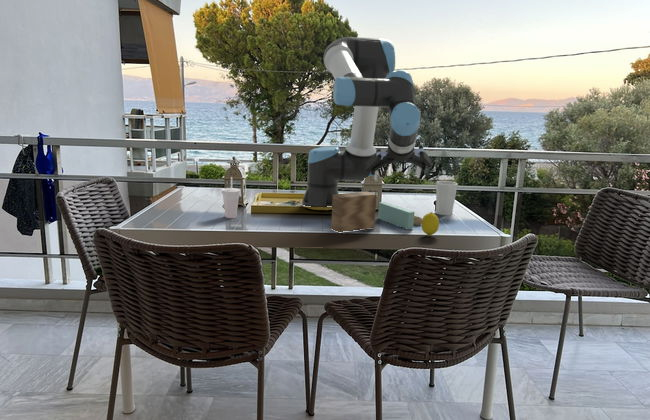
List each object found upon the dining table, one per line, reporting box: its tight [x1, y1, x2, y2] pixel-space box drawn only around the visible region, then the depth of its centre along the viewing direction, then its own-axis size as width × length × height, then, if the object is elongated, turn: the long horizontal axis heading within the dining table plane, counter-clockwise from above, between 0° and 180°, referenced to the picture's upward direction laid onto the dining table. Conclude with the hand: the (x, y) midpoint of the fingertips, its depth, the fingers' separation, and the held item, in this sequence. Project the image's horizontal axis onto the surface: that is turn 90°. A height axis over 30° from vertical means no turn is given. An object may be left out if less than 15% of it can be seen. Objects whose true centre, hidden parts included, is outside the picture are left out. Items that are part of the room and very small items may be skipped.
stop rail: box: [377, 201, 415, 230], centre depth 174 cm, size 2×16×6 cm, turn 32°
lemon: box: [420, 212, 440, 237], centre depth 160 cm, size 6×6×8 cm
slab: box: [330, 191, 377, 232], centre depth 164 cm, size 14×5×12 cm, turn 122°
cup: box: [435, 180, 458, 216], centre depth 192 cm, size 8×8×12 cm
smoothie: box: [221, 176, 241, 219], centre depth 172 cm, size 6×6×14 cm
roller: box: [413, 215, 423, 226], centre depth 178 cm, size 10×3×3 cm
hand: (396, 175), depth 161 cm, fingers open, 13 cm apart
